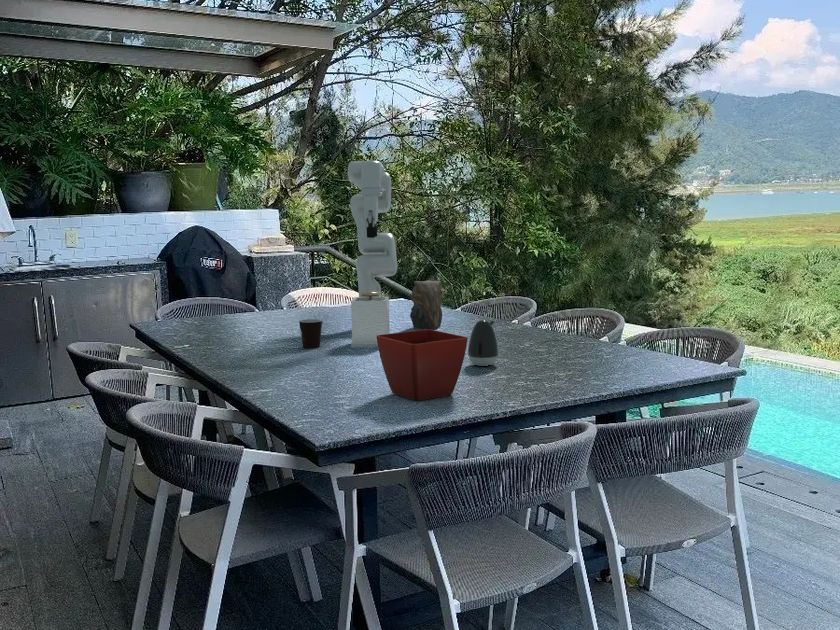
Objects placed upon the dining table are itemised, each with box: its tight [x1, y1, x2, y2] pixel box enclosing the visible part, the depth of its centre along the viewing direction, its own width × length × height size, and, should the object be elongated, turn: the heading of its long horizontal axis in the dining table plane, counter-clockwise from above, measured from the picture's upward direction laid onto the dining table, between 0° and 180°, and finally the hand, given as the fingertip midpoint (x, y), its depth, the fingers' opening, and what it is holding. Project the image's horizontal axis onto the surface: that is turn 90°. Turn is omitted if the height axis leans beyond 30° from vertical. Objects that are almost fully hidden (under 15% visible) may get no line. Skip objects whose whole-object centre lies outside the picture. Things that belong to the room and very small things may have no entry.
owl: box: [409, 279, 443, 331], centre depth 370 cm, size 13×13×20 cm
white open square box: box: [350, 296, 391, 349], centre depth 327 cm, size 14×14×18 cm
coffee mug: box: [298, 318, 323, 350], centre depth 326 cm, size 12×9×10 cm
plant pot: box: [377, 329, 469, 402], centre depth 242 cm, size 19×19×17 cm
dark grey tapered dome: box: [467, 319, 500, 367], centre depth 284 cm, size 10×10×15 cm
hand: (372, 237), depth 337 cm, fingers open, 9 cm apart
